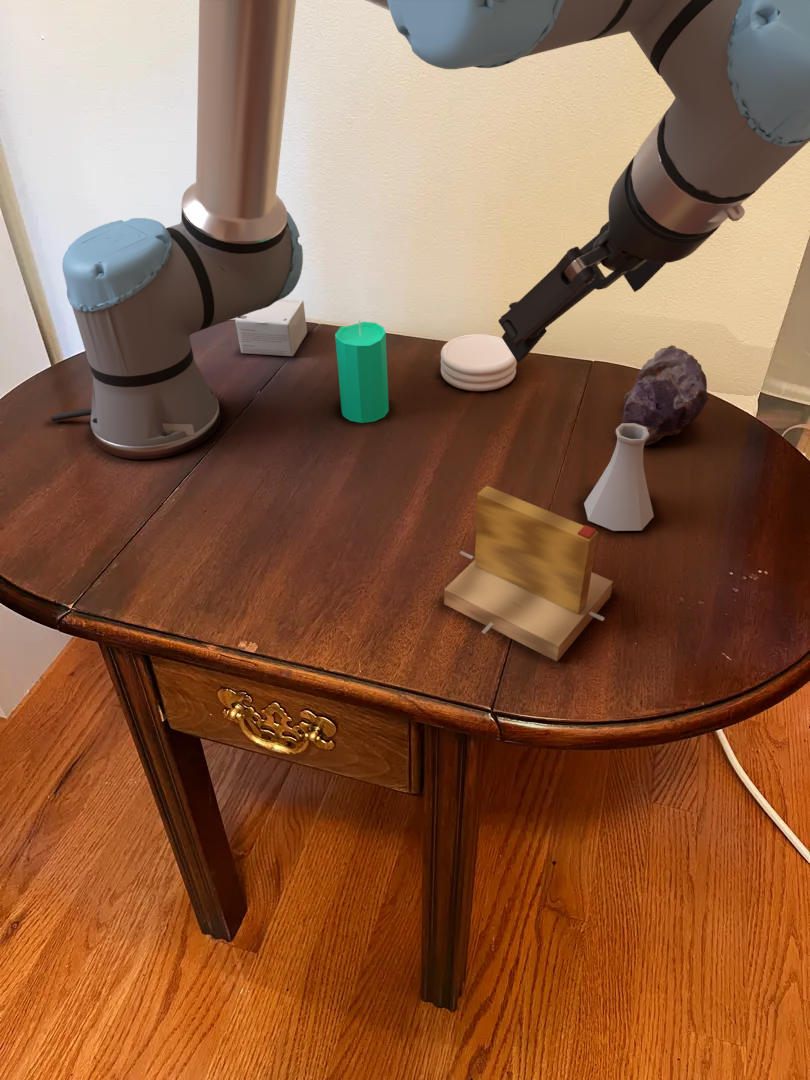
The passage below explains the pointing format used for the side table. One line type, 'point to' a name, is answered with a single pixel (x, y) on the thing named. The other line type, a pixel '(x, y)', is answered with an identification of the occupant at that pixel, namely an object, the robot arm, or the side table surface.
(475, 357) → the coaster
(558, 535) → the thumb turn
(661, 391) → the rock
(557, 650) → the plate
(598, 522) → the flask
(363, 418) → the candle
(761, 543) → the side table surface
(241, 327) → the small box
